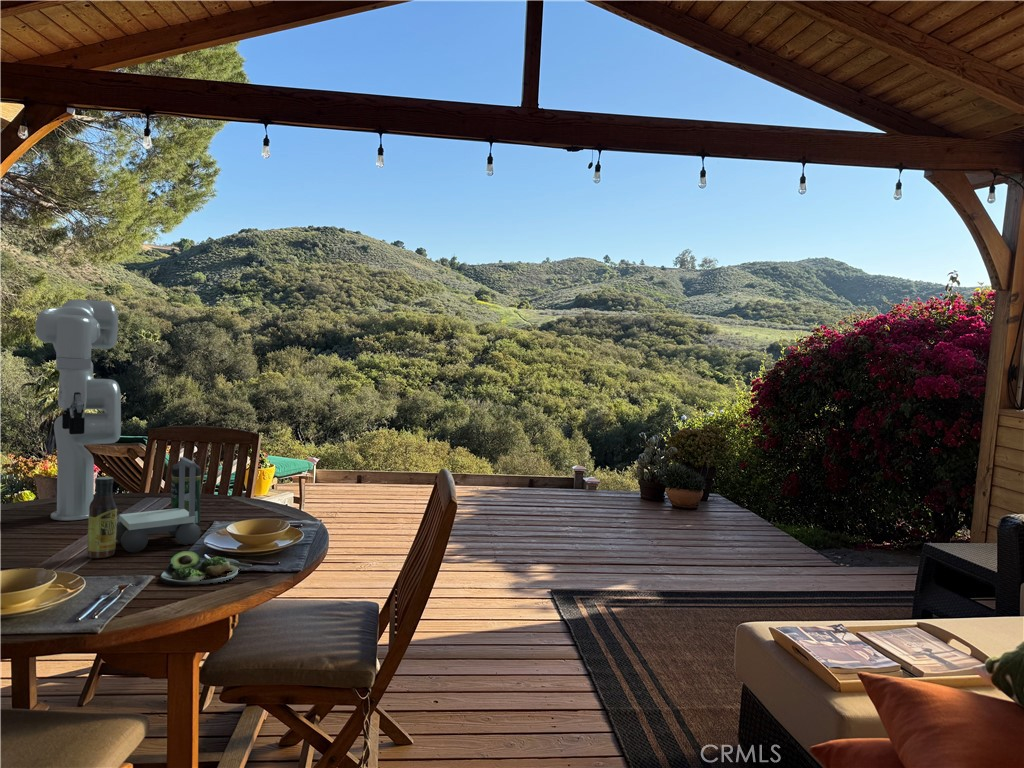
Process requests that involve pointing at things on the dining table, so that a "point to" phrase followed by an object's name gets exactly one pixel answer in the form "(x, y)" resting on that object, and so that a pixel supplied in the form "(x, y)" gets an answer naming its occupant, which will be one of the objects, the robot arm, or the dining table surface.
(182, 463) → the trolley
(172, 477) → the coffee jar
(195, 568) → the salad plate
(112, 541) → the sauce bottle
